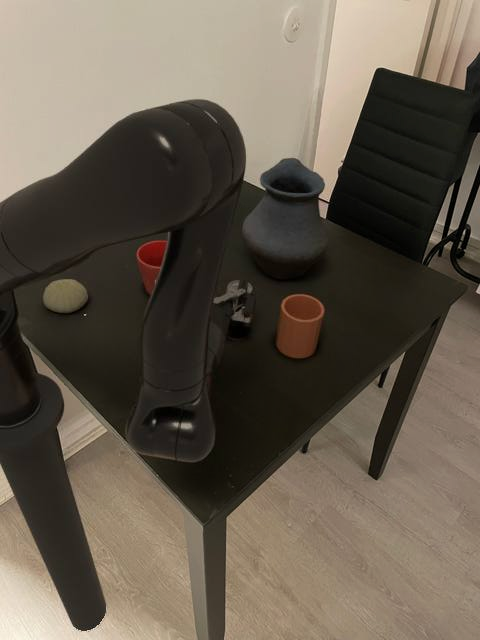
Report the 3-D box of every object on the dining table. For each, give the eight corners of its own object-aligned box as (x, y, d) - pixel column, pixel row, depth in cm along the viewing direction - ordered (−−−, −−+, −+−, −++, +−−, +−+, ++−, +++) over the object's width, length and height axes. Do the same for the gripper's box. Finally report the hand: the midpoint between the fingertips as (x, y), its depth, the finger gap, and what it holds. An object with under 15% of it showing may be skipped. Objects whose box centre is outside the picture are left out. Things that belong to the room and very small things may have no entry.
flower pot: (179, 271, 122) (178, 236, 116) (191, 298, 114) (191, 263, 108) (135, 278, 119) (132, 243, 113) (145, 306, 111) (142, 271, 105)
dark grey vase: (241, 291, 118) (249, 193, 101) (238, 241, 134) (244, 149, 117) (328, 294, 119) (349, 197, 102) (314, 243, 135) (331, 153, 119)
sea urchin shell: (68, 317, 104) (43, 285, 103) (54, 326, 110) (30, 296, 108) (99, 294, 110) (76, 264, 109) (84, 304, 116) (62, 276, 114)
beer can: (242, 322, 110) (246, 277, 102) (252, 338, 106) (257, 293, 98) (219, 327, 108) (222, 282, 100) (229, 343, 104) (232, 298, 96)
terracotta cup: (290, 363, 101) (297, 326, 94) (268, 337, 106) (273, 301, 100) (324, 350, 104) (332, 314, 98) (301, 326, 110) (307, 289, 103)
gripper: (249, 324, 70) (260, 264, 82) (148, 313, 71) (175, 255, 83) (246, 364, 74) (257, 301, 87) (152, 353, 75) (176, 293, 88)
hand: (217, 279), depth 85 cm, fingers open, 8 cm apart
